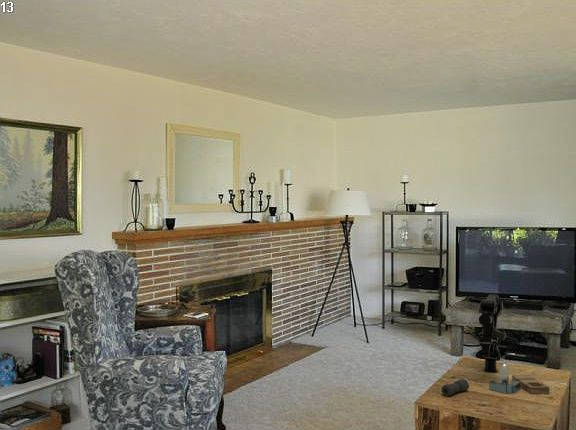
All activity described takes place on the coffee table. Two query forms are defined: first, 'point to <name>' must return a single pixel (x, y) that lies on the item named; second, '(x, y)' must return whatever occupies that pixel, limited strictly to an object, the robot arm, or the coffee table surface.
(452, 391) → the flashlight
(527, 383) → the slotted block
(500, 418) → the coffee table surface
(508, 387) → the v block
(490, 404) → the coffee table surface
